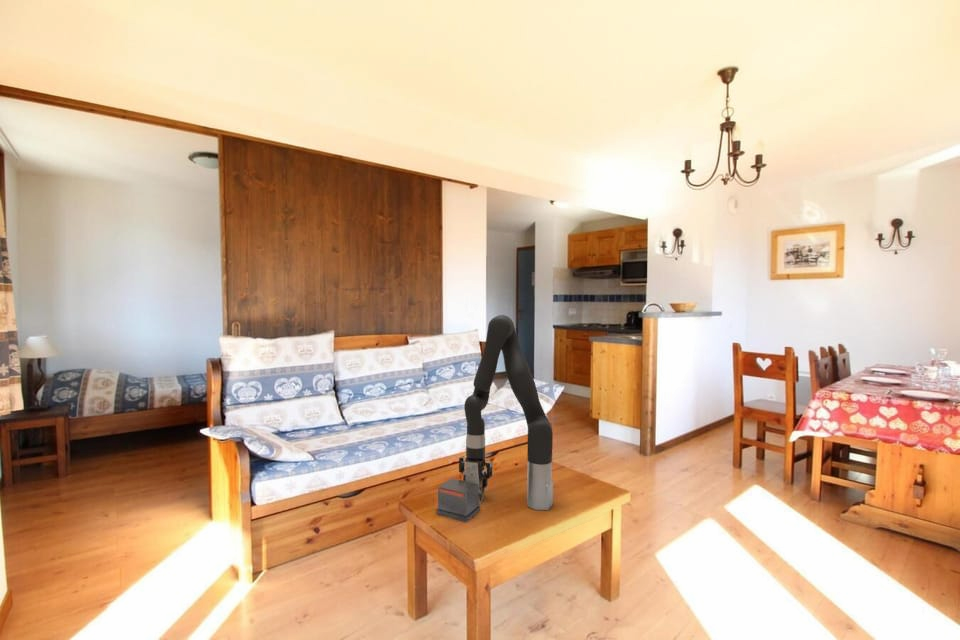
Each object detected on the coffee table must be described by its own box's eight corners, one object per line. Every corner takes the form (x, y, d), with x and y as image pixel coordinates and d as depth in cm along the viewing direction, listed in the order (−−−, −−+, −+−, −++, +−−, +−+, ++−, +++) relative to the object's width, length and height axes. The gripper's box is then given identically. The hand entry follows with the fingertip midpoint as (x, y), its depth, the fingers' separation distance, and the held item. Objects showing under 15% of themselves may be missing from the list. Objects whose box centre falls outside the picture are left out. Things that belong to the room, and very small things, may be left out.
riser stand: (480, 510, 167) (480, 484, 167) (466, 522, 158) (467, 494, 158) (450, 503, 173) (450, 477, 173) (436, 513, 164) (436, 486, 164)
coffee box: (480, 504, 172) (481, 463, 172) (464, 503, 173) (464, 461, 173) (485, 494, 181) (485, 455, 180) (470, 493, 182) (470, 454, 182)
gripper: (496, 444, 176) (495, 486, 177) (464, 439, 183) (464, 479, 184) (487, 450, 170) (487, 493, 170) (455, 444, 176) (454, 485, 177)
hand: (475, 485), depth 177 cm, fingers closed on coffee box, 7 cm apart
